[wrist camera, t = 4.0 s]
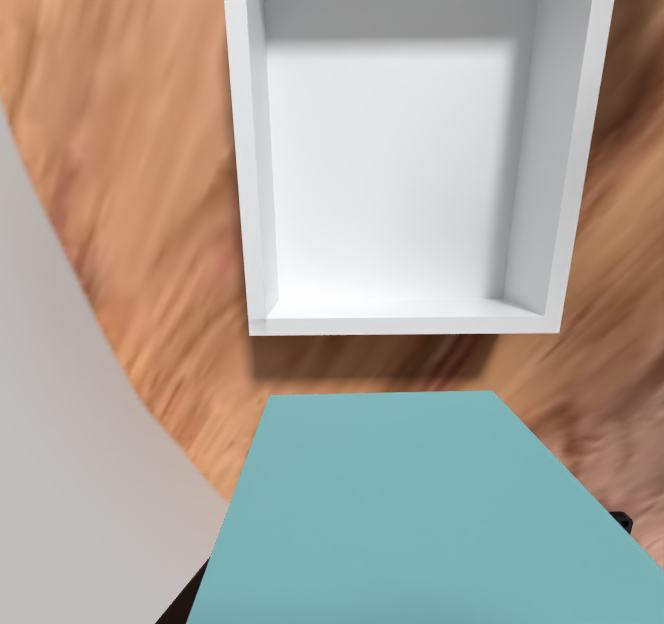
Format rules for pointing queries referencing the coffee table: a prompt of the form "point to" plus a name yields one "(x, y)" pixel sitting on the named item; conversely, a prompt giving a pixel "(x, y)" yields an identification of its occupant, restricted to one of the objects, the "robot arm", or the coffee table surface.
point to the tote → (411, 160)
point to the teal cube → (417, 522)
